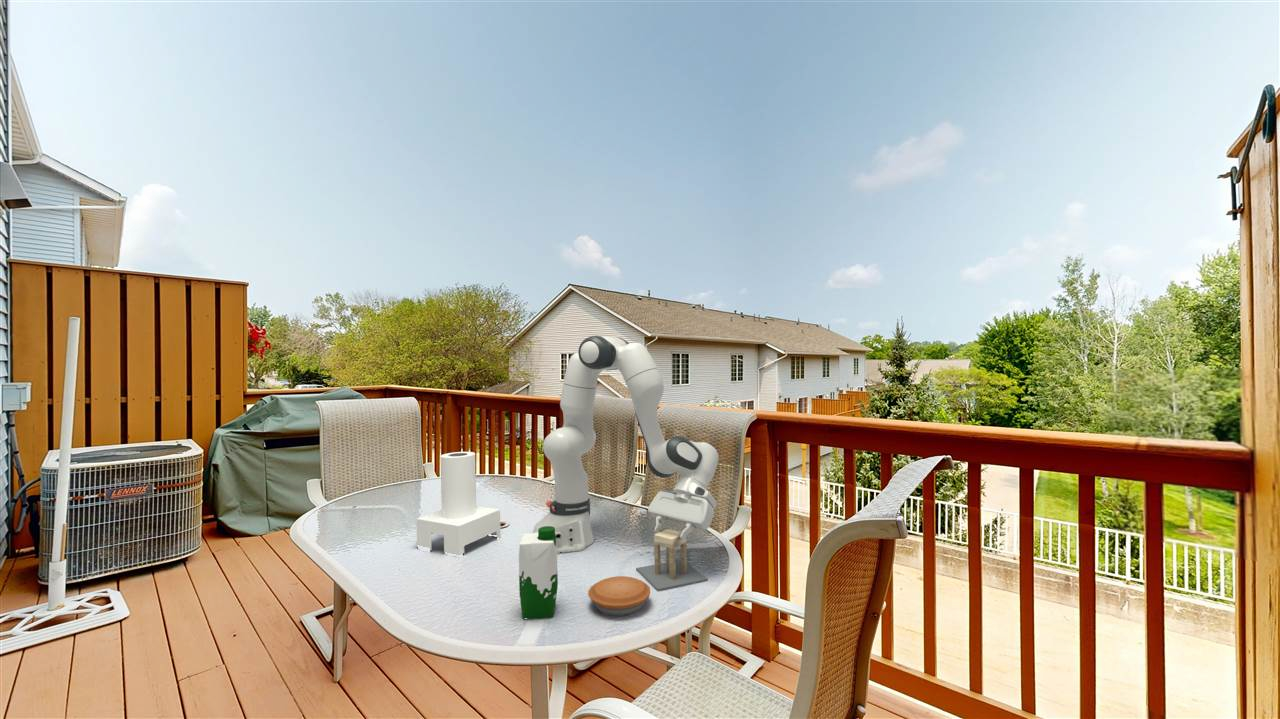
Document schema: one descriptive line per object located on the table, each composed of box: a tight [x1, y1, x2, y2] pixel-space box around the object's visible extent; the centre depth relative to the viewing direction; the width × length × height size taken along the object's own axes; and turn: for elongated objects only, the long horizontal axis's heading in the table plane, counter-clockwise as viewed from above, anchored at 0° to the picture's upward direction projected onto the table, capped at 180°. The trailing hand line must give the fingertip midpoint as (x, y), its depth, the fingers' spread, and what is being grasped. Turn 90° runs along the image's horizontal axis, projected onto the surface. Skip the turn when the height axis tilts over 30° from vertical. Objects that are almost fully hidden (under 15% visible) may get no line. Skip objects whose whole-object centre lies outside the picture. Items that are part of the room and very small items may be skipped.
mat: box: [635, 559, 709, 592], centre depth 144 cm, size 15×15×1 cm
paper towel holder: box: [416, 451, 502, 555], centre depth 172 cm, size 19×19×30 cm
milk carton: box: [518, 526, 559, 619], centre depth 124 cm, size 9×9×20 cm
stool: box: [653, 528, 688, 580], centre depth 144 cm, size 6×6×11 cm
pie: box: [587, 575, 651, 617], centre depth 127 cm, size 16×16×5 cm
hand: (668, 535), depth 143 cm, fingers open, 7 cm apart
